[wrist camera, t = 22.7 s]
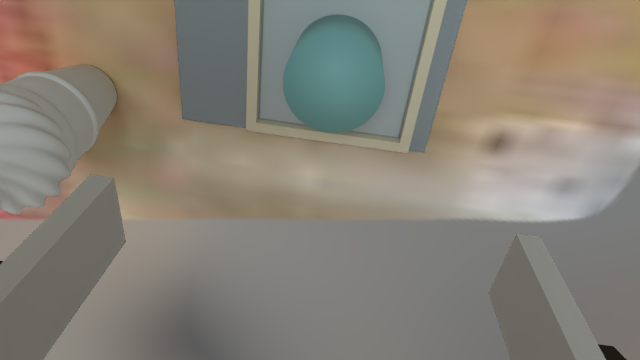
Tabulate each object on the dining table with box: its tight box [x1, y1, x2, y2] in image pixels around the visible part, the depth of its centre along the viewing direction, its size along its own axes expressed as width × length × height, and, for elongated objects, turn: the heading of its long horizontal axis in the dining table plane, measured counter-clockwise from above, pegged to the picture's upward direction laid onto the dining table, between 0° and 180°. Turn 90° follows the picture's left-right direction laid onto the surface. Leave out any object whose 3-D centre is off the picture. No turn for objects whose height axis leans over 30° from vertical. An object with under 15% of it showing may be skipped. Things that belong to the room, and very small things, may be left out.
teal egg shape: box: [283, 14, 385, 133], centre depth 29 cm, size 6×6×6 cm
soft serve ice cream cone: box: [0, 65, 117, 215], centre depth 29 cm, size 8×8×16 cm
